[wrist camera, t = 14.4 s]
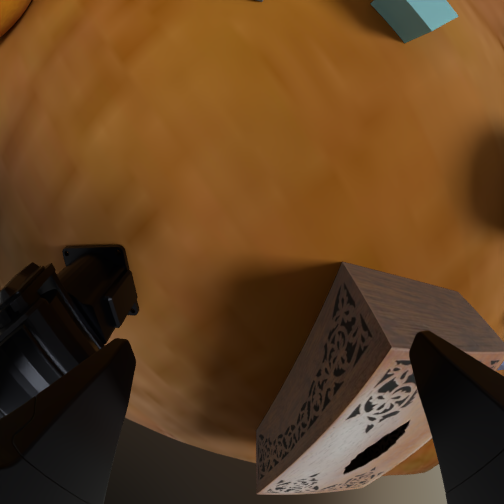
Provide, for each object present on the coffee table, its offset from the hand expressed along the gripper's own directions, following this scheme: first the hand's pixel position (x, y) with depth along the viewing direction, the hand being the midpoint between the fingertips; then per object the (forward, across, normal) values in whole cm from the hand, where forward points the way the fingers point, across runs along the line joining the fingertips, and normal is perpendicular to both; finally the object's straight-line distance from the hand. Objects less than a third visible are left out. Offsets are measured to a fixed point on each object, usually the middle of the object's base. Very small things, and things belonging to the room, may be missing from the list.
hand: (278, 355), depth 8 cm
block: (+13, -11, -17) cm, 24 cm away
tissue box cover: (+14, -10, +18) cm, 24 cm away
